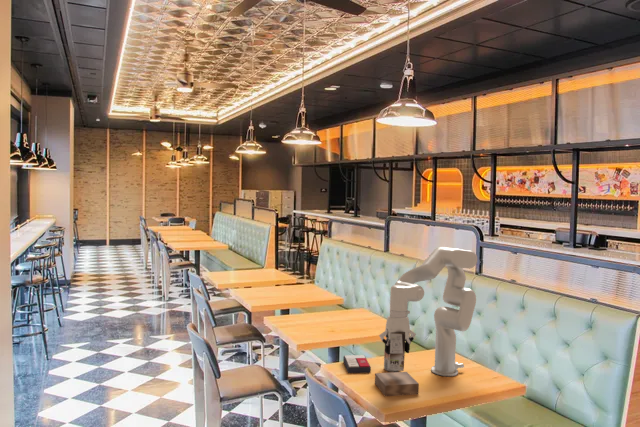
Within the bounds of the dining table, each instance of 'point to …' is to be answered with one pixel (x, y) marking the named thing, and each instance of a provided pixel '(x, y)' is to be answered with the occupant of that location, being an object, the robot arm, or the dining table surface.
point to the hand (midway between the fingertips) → (397, 352)
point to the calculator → (356, 364)
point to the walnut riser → (396, 384)
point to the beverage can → (387, 362)
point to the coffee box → (397, 351)
